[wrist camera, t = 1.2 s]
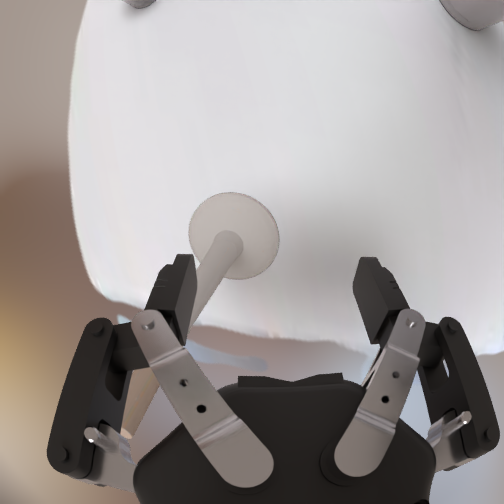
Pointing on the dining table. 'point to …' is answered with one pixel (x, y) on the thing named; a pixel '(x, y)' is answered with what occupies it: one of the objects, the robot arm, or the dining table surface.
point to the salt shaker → (139, 3)
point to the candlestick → (213, 270)
